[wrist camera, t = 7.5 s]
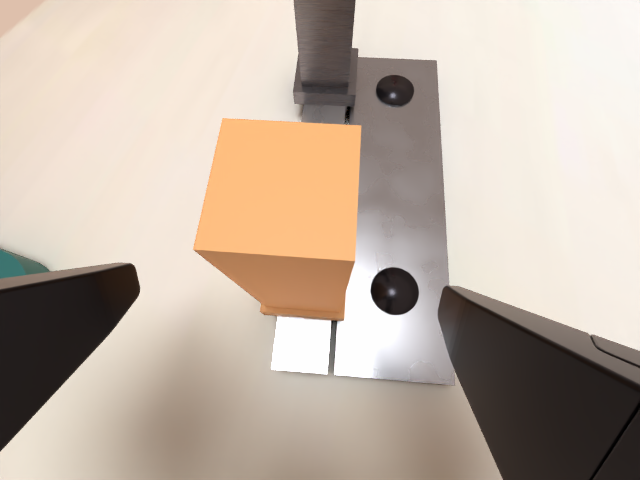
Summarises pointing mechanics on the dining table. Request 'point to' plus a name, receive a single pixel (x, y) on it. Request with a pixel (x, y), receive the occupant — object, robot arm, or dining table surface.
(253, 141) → the block
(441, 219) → the bolt plate
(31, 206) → the dining table surface
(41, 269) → the bracket
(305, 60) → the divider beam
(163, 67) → the dining table surface
